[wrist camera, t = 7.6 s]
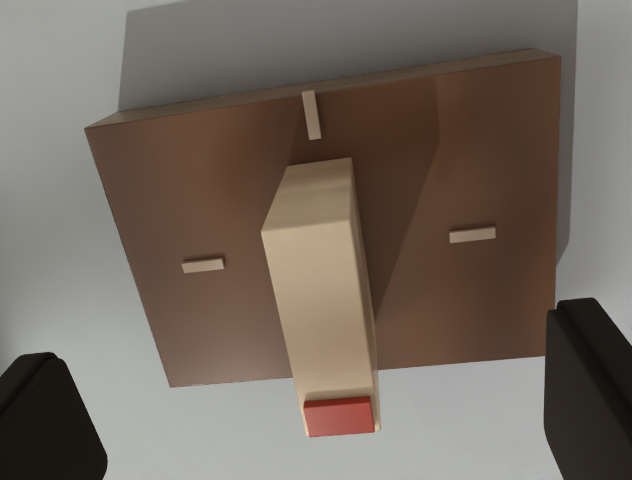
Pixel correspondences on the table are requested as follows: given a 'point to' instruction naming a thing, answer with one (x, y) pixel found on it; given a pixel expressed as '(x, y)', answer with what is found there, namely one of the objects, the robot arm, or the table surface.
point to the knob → (324, 297)
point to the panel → (374, 207)
